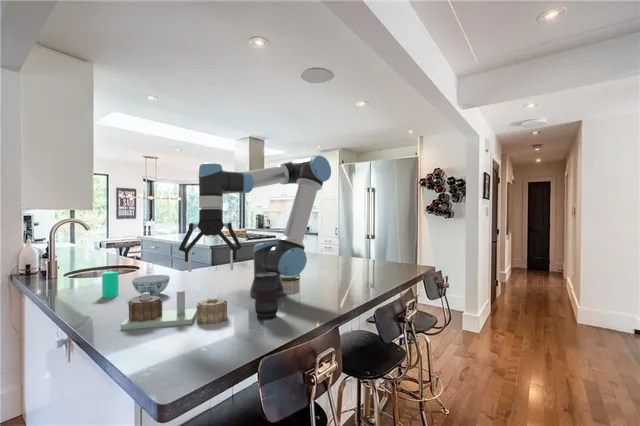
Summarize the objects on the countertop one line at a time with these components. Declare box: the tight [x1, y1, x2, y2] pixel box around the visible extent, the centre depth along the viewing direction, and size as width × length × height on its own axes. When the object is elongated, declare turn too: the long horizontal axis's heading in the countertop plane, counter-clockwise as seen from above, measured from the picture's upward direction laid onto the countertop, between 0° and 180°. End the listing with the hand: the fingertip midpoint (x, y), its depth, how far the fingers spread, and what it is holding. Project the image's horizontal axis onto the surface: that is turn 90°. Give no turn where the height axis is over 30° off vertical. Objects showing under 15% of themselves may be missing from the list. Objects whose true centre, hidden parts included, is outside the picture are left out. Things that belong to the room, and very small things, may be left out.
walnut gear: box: [128, 296, 163, 322], centre depth 106 cm, size 10×10×6 cm
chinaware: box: [131, 274, 171, 297], centre depth 141 cm, size 15×15×8 cm
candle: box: [101, 268, 119, 299], centre depth 140 cm, size 6×6×12 cm
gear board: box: [120, 290, 197, 330], centre depth 107 cm, size 21×12×10 cm, turn 103°
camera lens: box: [253, 272, 279, 321], centre depth 111 cm, size 8×8×15 cm
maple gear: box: [196, 297, 228, 325], centre depth 109 cm, size 10×10×6 cm
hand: (211, 270), depth 109 cm, fingers open, 13 cm apart
